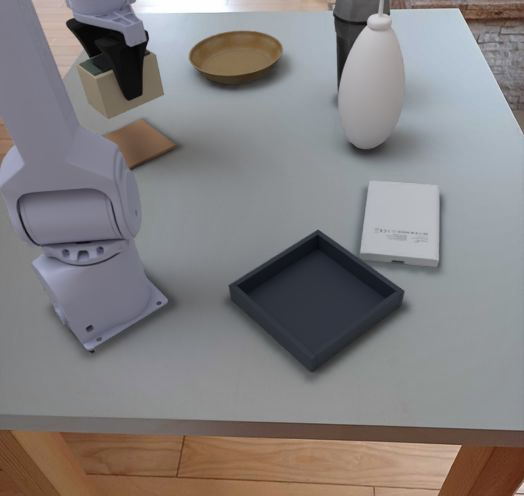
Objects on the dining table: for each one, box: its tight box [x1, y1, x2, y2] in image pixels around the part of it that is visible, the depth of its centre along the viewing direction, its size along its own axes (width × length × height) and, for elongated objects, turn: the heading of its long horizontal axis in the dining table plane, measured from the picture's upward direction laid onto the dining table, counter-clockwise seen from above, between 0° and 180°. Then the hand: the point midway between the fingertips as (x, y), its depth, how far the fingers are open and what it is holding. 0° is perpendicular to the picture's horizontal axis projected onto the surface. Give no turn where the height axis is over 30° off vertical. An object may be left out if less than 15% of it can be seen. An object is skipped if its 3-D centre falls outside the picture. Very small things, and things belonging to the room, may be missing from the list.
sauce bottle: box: [337, 0, 406, 150], centre depth 62 cm, size 8×8×18 cm
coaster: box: [102, 118, 177, 170], centre depth 72 cm, size 9×9×1 cm
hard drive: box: [358, 180, 440, 268], centre depth 58 cm, size 2×8×12 cm
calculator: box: [75, 48, 165, 120], centre depth 63 cm, size 8×5×5 cm, turn 129°
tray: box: [228, 229, 406, 373], centre depth 52 cm, size 12×12×2 cm
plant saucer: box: [188, 30, 284, 85], centre depth 82 cm, size 15×15×3 cm
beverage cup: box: [332, 0, 391, 94], centre depth 68 cm, size 7×7×20 cm
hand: (122, 88), depth 63 cm, fingers closed on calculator, 5 cm apart
